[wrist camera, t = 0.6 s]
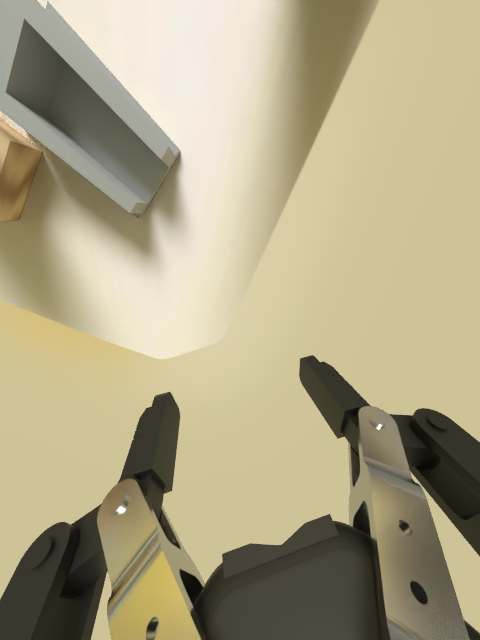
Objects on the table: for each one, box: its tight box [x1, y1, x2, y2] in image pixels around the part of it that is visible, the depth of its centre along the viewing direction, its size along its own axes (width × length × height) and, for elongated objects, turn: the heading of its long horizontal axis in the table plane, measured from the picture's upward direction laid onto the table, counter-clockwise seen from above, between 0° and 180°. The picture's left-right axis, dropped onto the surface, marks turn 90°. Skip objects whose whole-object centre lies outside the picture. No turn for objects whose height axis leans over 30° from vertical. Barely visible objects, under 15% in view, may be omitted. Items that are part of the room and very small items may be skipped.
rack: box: [0, 0, 180, 218], centre depth 18 cm, size 10×13×6 cm
